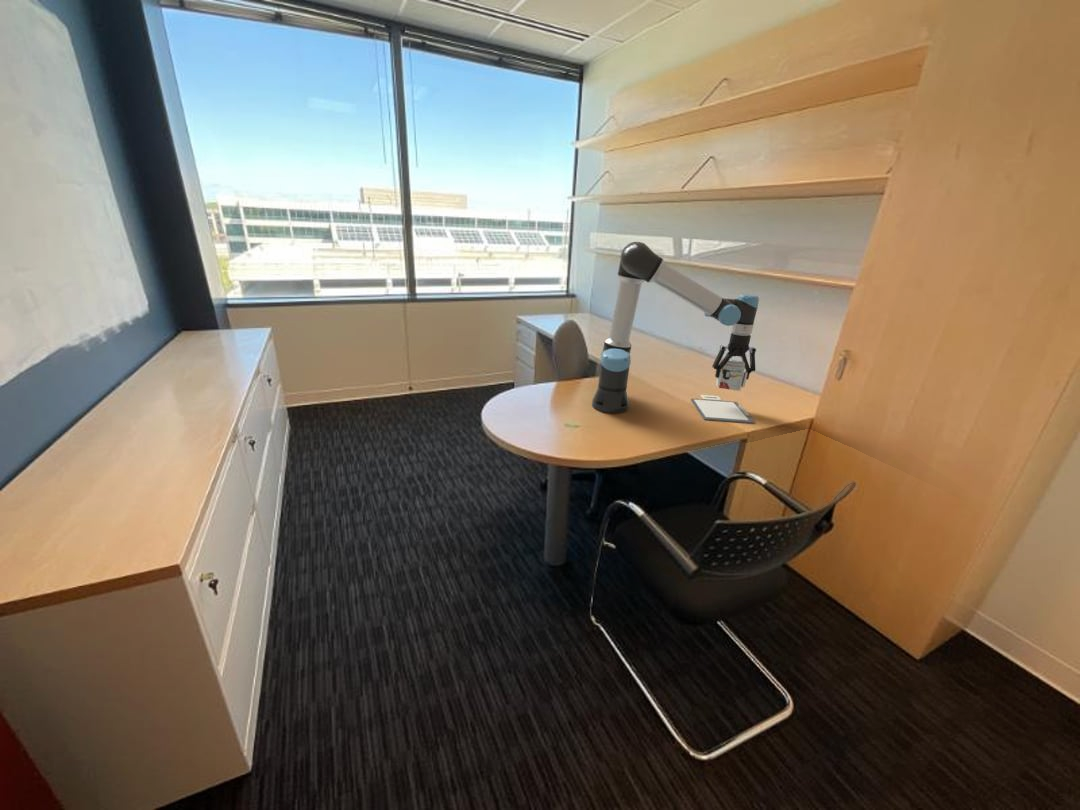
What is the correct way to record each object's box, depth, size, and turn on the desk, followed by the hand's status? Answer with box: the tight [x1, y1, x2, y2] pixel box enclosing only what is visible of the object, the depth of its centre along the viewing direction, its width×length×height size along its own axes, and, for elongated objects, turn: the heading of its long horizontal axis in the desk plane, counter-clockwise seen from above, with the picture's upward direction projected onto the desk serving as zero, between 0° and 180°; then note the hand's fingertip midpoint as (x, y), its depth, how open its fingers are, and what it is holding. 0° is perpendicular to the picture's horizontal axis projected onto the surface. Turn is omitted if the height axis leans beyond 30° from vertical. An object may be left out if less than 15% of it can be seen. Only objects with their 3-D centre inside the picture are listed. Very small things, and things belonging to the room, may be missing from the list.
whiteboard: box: [690, 398, 756, 424], centre depth 186 cm, size 20×22×1 cm
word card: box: [700, 394, 723, 401], centre depth 200 cm, size 8×5×1 cm, turn 86°
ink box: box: [718, 358, 746, 392], centre depth 185 cm, size 9×5×12 cm, turn 63°
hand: (729, 385), depth 187 cm, fingers closed on ink box, 10 cm apart
